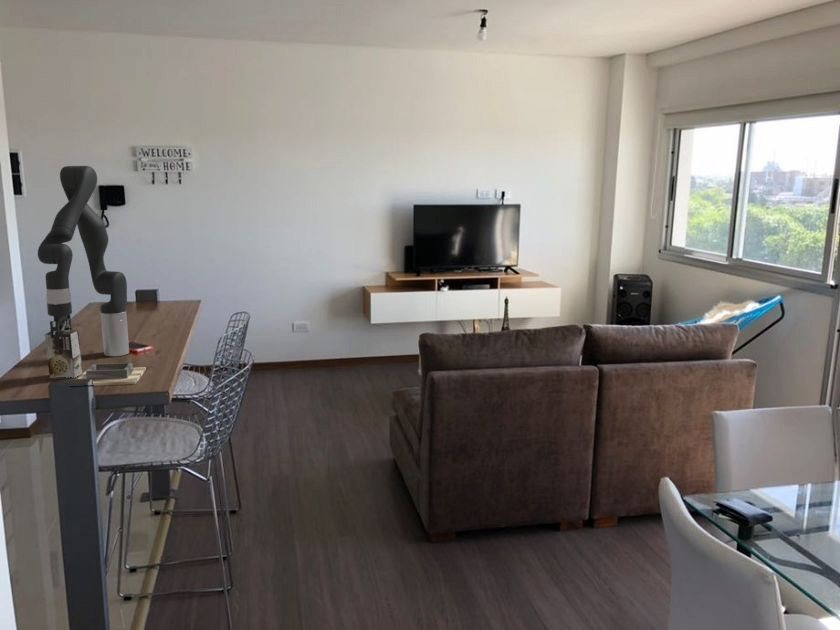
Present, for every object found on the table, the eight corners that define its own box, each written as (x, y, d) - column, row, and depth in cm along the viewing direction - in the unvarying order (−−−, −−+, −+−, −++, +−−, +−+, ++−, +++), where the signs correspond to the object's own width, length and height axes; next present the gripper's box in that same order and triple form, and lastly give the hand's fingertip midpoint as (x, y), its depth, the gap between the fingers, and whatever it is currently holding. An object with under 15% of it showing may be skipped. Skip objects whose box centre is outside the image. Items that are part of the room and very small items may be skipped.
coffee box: (83, 373, 241) (79, 329, 238) (74, 378, 235) (70, 333, 232) (57, 373, 241) (53, 329, 238) (48, 378, 234) (44, 333, 231)
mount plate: (87, 372, 243) (86, 361, 242) (146, 369, 247) (145, 359, 246) (72, 386, 225) (71, 375, 225) (135, 384, 229) (134, 372, 229)
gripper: (54, 298, 239) (57, 342, 242) (39, 304, 225) (44, 351, 228) (76, 297, 240) (80, 342, 243) (64, 304, 226) (67, 351, 229)
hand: (62, 346), depth 235 cm, fingers open, 8 cm apart
